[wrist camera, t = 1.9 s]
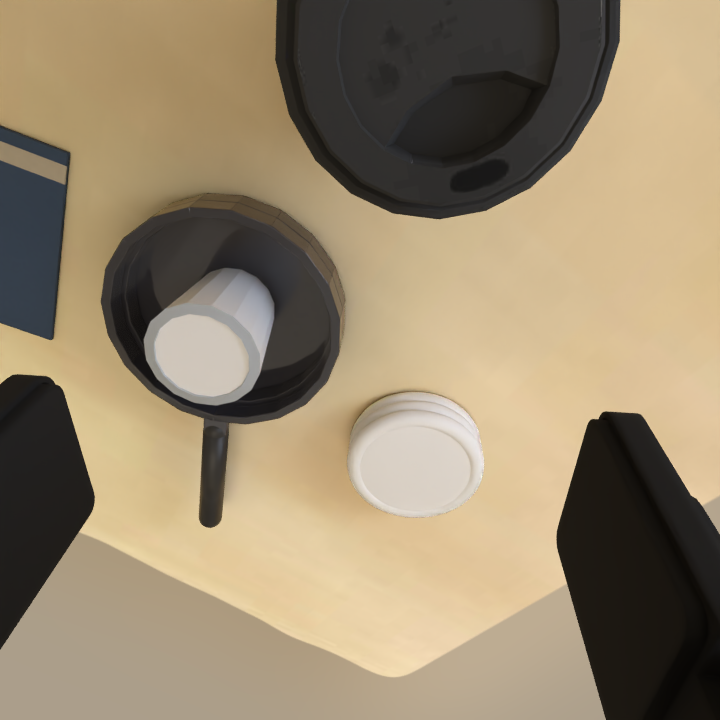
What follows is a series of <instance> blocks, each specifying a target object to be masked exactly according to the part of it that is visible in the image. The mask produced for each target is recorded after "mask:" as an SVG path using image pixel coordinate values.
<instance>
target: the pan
mask: <svg viewBox="0 0 720 720" xmlns="http://www.w3.org/2000/svg"><path fill="white" fill-rule="evenodd" d="M222 268H232V269H241V270H243V271H245V272H247V273H249V274H251V275H253V276H255V277H257V278H258V279H259V280H260V281H261V282H262V283H263V284H264V285H265V286H266V287H267V288H268V290H269V292H270V294H271V297H272V299H273V302H274V321H273V325H272V329H271V333H270V337H269V340H268V344H267V348H266V352H265V356H264V360H263V363H262V367H261V371H260V374H259V376H258V378H257V380H256V382H255V384H254V386H253V388H252V390H251V391H249V392H248V393H247V394H245V395H244V396H242V397H241V398H240V399H238V400H237V401H234V402H230V403H225V404H220V405H208V404H200V403H194V402H191V401H189V400H187V399H185V398H183V397H180V396H178V395H176V394H174V393H173V392H171V391H170V390H169V389H168V388H167V387H166V386H165V385H164V384H162V383H161V382H160V381H159V380H158V379H157V378H156V376H155V375H154V373H153V371H152V369H151V368H150V366H149V364H148V362H147V360H146V355H145V347H144V338H145V335H146V332H147V329H148V327H149V324H150V322H151V321H152V320H153V319H154V318H155V317H156V316H158V315H159V314H160V313H161V312H162V311H163V310H164V309H166V308H167V307H168V306H169V305H170V304H172V303H173V302H174V301H175V300H177V299H178V298H179V297H180V296H181V295H183V294H184V293H185V292H186V291H188V290H189V289H190V288H191V287H192V286H194V285H195V284H196V283H197V282H199V281H200V280H201V279H202V278H203V277H205V276H206V275H207V274H208V273H210V272H212V271H215V270H219V269H222ZM101 305H102V310H103V314H104V319H105V324H106V328H107V333H108V336H109V338H110V340H111V342H112V343H113V345H114V347H115V349H116V350H117V352H118V354H119V356H120V358H121V359H122V361H123V363H124V365H125V366H126V367H127V368H128V369H129V370H130V371H131V372H132V373H133V374H134V375H135V376H136V377H137V379H138V380H139V381H140V382H141V383H142V384H143V385H144V386H145V387H146V388H147V389H148V390H149V391H151V392H152V393H153V394H155V395H157V396H158V397H160V398H161V399H163V400H164V401H166V402H168V403H169V404H171V405H172V406H174V407H176V408H177V409H179V410H181V411H183V412H186V413H189V414H192V415H195V416H198V417H201V418H204V419H206V418H207V419H208V418H209V419H208V420H211V421H212V420H213V418H214V420H215V421H216V420H218V422H223V421H224V422H226V423H237V424H251V423H257V422H262V421H268V420H273V419H278V418H281V417H283V416H284V415H286V414H288V413H290V412H292V411H294V410H296V409H298V408H300V407H302V406H304V405H306V404H307V403H308V402H309V401H310V400H311V399H312V397H313V396H314V395H315V394H316V393H317V392H318V391H319V390H320V389H321V388H322V387H323V386H324V385H325V384H326V383H327V381H328V379H329V377H330V374H331V372H332V369H333V367H334V365H335V362H336V360H337V357H338V355H339V351H340V347H341V342H342V338H343V333H344V322H345V296H344V293H343V290H342V287H341V283H340V280H339V277H338V274H337V270H336V267H335V266H334V264H333V262H332V261H331V259H330V258H329V257H328V255H327V254H326V252H325V251H324V249H323V248H322V247H321V245H320V244H319V242H318V241H317V240H316V238H315V237H314V236H313V235H312V234H311V233H310V232H309V231H308V230H306V229H305V228H304V227H302V226H301V225H300V224H299V223H297V222H296V221H295V220H294V219H292V218H291V217H290V216H288V215H287V214H286V213H285V212H283V211H282V210H280V209H277V208H275V207H272V206H269V205H267V204H264V203H262V202H259V201H257V200H254V199H252V198H249V197H246V196H239V195H224V194H209V193H207V194H202V195H198V196H195V197H191V198H187V199H184V200H180V201H176V202H173V203H171V204H169V205H168V206H166V207H165V208H163V209H162V210H161V211H159V212H158V213H156V214H155V215H154V216H152V217H151V218H150V219H148V220H147V221H146V222H144V223H143V224H141V225H140V226H139V227H137V228H136V229H135V230H133V231H132V232H131V233H129V234H128V235H127V236H125V237H124V238H123V239H122V241H121V242H120V244H119V246H118V248H117V249H116V251H115V253H114V254H113V256H112V258H111V260H110V261H109V263H108V265H107V266H106V269H105V276H104V283H103V290H102V297H101ZM206 416H208V417H206ZM210 418H211V419H210ZM215 418H216V419H215ZM219 420H220V421H219Z"/></svg>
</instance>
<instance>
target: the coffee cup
mask: <svg viewBox="0 0 720 720" xmlns="http://www.w3.org/2000/svg"><path fill="white" fill-rule="evenodd" d="M619 41H620V0H277V15H276V56H275V60H276V64H277V68H278V72H279V76H280V80H281V84H282V88H283V92H284V96H285V100H286V104H287V108H288V112H289V115H290V117H291V119H292V121H293V122H294V124H295V126H296V128H297V129H298V131H299V133H300V134H301V136H302V138H303V140H304V141H305V143H306V145H307V146H308V148H309V150H310V152H311V153H312V155H313V157H314V159H315V160H316V161H317V162H318V163H319V164H320V165H321V166H322V167H323V168H324V169H325V170H326V171H328V172H329V173H330V174H331V175H332V176H333V177H334V178H335V179H336V180H337V181H338V182H339V183H340V184H341V185H343V186H344V187H345V188H346V189H347V190H348V191H349V192H350V193H351V194H353V195H355V196H357V197H360V198H362V199H364V200H366V201H368V202H370V203H372V204H374V205H376V206H379V207H381V208H383V209H385V210H387V211H389V212H391V213H394V214H402V215H410V216H417V217H425V218H433V219H443V218H449V217H454V216H459V215H465V214H470V213H476V212H481V211H486V210H488V209H490V208H492V207H494V206H496V205H498V204H500V203H502V202H504V201H506V200H508V199H510V198H511V197H513V196H515V195H517V194H519V193H521V192H523V191H525V190H527V189H529V188H531V187H532V186H533V185H534V184H535V183H536V182H537V181H538V180H539V179H541V178H542V177H543V176H544V175H545V174H546V173H547V172H548V171H549V170H550V169H551V168H552V167H553V166H554V165H556V164H557V163H558V162H559V161H560V160H561V159H562V158H563V157H564V156H565V155H566V154H567V153H568V152H570V151H571V149H572V147H573V146H574V144H575V143H576V141H577V139H578V138H579V136H580V134H581V133H582V131H583V130H584V128H585V126H586V125H587V123H588V122H589V120H590V118H591V117H592V115H593V114H594V112H595V110H596V109H597V107H598V106H599V104H600V102H601V101H602V97H603V94H604V91H605V87H606V84H607V81H608V77H609V74H610V71H611V68H612V64H613V61H614V58H615V54H616V51H617V48H618V44H619Z"/></svg>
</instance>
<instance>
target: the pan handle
mask: <svg viewBox="0 0 720 720" xmlns="http://www.w3.org/2000/svg"><path fill="white" fill-rule="evenodd" d="M206 417H208V416H206ZM208 419H209V418H208ZM208 419H207V418H206V419H204V428H203V445H202V465H201V485H200V505H199V520H200V523H201V524H202V525H203V526H205V527H208V528H212V527H215V526H217V525H218V524H219V523H220V521H221V518H222V509H223V497H224V485H225V472H226V460H227V448H228V435H229V423H226V422H224V421H223V422H218V420H216V421H215V420H214V418H213V420H212V421H211V420H208ZM210 419H211V418H210ZM215 419H216V418H215ZM219 421H220V420H219Z"/></svg>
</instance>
